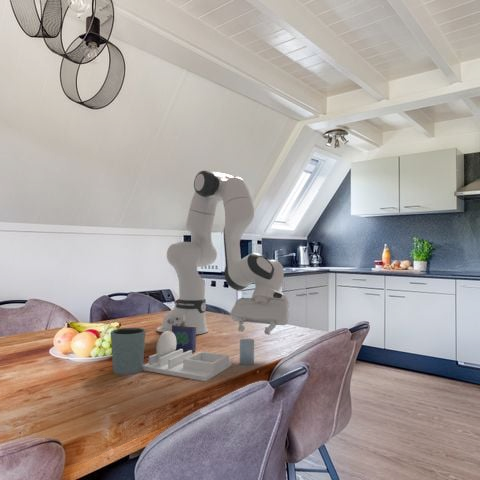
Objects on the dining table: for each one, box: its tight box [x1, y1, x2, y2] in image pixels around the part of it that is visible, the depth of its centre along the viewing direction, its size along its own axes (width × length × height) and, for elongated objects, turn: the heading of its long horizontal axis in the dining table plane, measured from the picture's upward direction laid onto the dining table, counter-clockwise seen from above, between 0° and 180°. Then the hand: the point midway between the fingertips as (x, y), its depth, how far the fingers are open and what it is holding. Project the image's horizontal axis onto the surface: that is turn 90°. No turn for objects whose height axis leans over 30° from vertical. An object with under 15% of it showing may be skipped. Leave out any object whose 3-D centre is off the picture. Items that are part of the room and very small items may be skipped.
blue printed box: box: [172, 321, 197, 353], centre depth 138 cm, size 9×3×11 cm, turn 74°
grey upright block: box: [239, 338, 255, 366], centre depth 125 cm, size 5×5×7 cm
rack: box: [142, 331, 233, 382], centre depth 119 cm, size 22×16×10 cm
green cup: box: [110, 327, 146, 376], centre depth 116 cm, size 10×10×12 cm
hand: (253, 332), depth 129 cm, fingers open, 8 cm apart
